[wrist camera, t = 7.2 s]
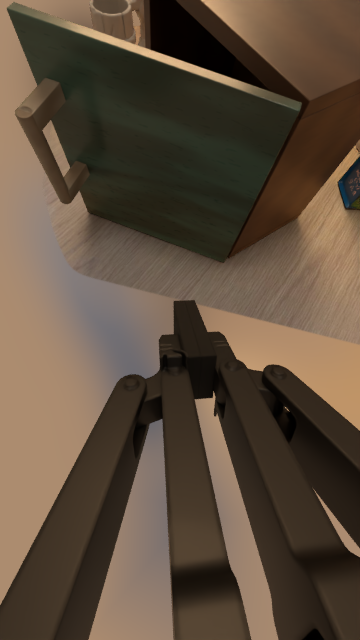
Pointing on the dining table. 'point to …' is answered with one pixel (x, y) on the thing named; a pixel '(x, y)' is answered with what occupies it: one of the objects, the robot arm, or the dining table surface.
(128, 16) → the mug
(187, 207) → the door
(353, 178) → the blue food package
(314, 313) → the dining table surface
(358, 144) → the mug
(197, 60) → the cupboard
